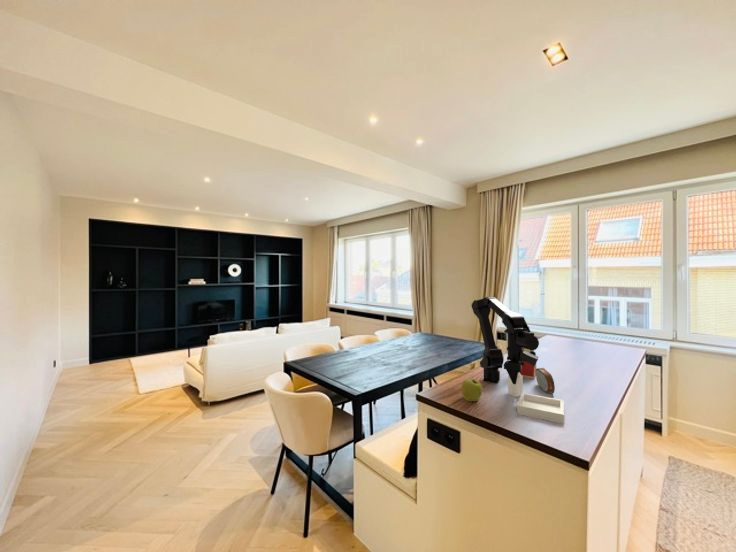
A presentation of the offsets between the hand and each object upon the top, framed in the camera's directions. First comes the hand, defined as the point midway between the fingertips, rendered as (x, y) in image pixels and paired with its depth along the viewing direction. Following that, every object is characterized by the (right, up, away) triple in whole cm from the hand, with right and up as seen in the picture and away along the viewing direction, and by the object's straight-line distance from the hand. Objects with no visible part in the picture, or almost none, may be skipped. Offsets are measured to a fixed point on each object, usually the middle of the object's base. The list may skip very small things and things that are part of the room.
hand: (515, 381), depth 127 cm
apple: (-20, -6, -6) cm, 22 cm away
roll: (0, -5, 0) cm, 5 cm away
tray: (+1, -5, -16) cm, 17 cm away
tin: (+15, -5, +5) cm, 16 cm away
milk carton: (+17, -5, +25) cm, 30 cm away
